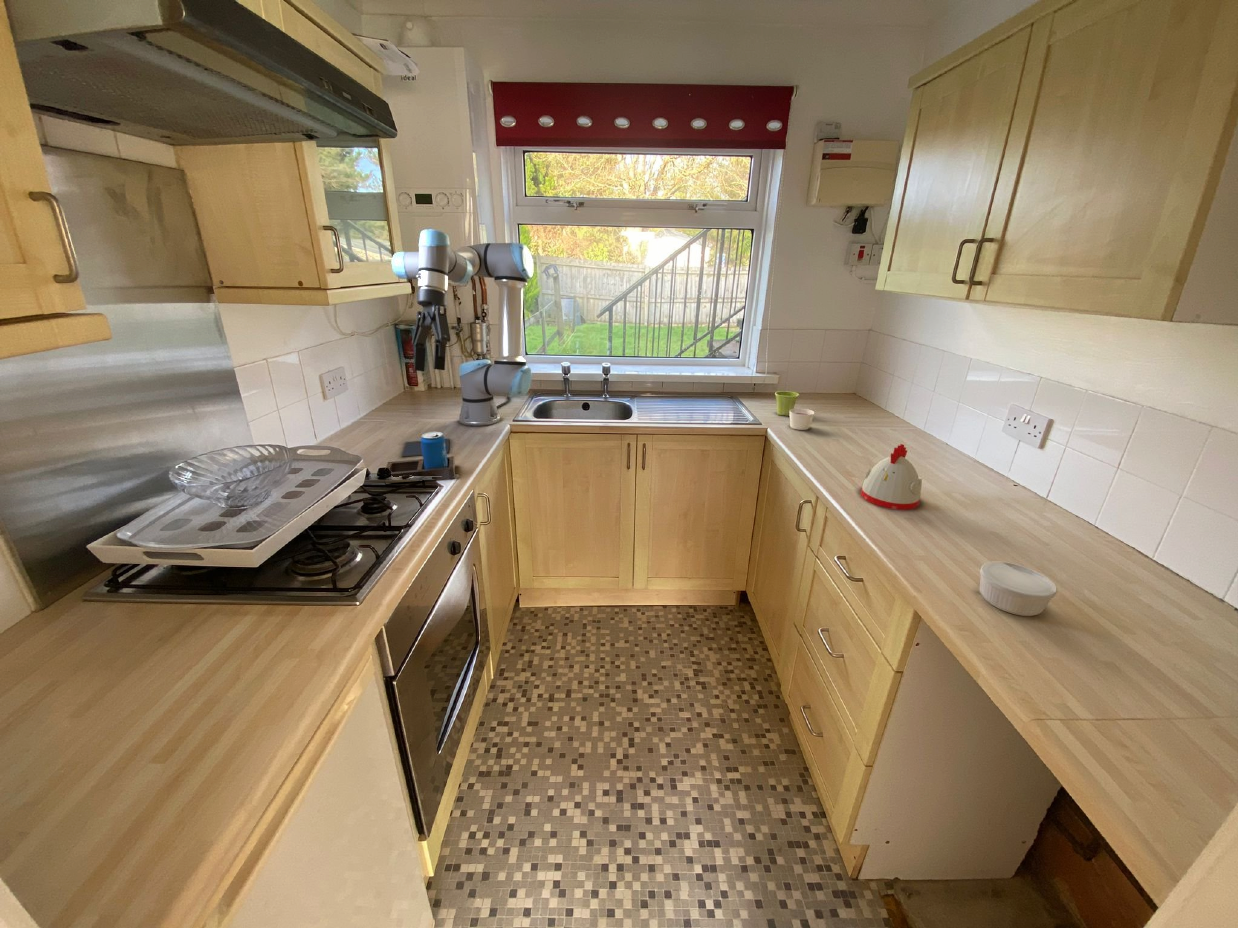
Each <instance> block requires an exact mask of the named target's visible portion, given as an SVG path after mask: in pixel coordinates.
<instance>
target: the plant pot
mask: <svg viewBox="0 0 1238 928" xmlns="http://www.w3.org/2000/svg"><path fill="white" fill-rule="evenodd" d="M774 395H775V399H776V414H777V415H779V416H786V417H788V416H789V417H790V415H789V410H790V409H794V408H795V407H796V406H795V405H796V403H797V399H798V397H799V396H800V394H799V393H798V392H795V391H787V390H781V391H776V392H775V393H774Z"/></svg>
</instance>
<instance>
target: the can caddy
mask: <svg viewBox="0 0 1238 928" xmlns="http://www.w3.org/2000/svg"><path fill="white" fill-rule="evenodd" d="M447 461H448V467H445V468H434V469H425V468H424V461H423V458H420V459H408V460H397V461H388V462H387V463H386V466H385V469H386V468H389V470H391V471H392V472H391V474H392V476H393V477H399V476H403V475H412V476H442V477H432V479H436V480H435V481H443V480H453V479H455V478H456V477H455V476H456V475H455V474H456V463H455V456H447Z"/></svg>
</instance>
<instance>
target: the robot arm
mask: <svg viewBox="0 0 1238 928" xmlns="http://www.w3.org/2000/svg"><path fill="white" fill-rule="evenodd" d="M418 242H419V243H418V251H397V252H395V253H394V254H393V255H392V258H391V269H392V272H393V273H394V275H395V276H396V277H397V278H399V279H400V280H401V279H402V280H408V281H410V280H417V288H418V290H417V291H416V303H417V304H418V305H419V306H421V307H422V311H420V310H417V312H416V321H415V325H414V329H413V335H412V337H411V338H412V339H411V346H413V347H414V355H413V356H414V357H413V359H414V360H413V371H416V372H425V367H426V349H427V346H426V343H427V339H428V336H429V335H430V331H432V333H433V335H434V341H433V343H434V351H433V370H437V371H445V370H446V353H447V345H448V343H451V334H450V329H449V328H450V327H449V322H448V317H447V302H448V301H447V300H448V299H447V297H448V295H447V292H448V285H449V284H448V282H449V281H451V282H453V283H454V284H459V285H463V284H466V283H468V282H469V281H470V280H471V278H472V277H481V278H490V279H491V278H492V279H493V280H494V281H493V282H494V284H495V285H496V286H497V287H498V329H497V331H498V337H497V338H498V340H497V341H498V347H497V348H498V349H497V351H498V353H497V356H496V357H495V358H494V359H493V364H492V361H491V360H490V359H487V358H485V359H476V360H471V361H466V362H463V363H461V364H460V365H459V369H458V370H459V374H458V377H459V383H460V393H461V399H462V401H461V403H462V404H461V409H460V411H459V417H458V418H459V423H460V424H461V425H464V426H468V427H482V426H484V427H485V426H490V425H494V424H496V423H498V422H500V421H501V415H500V412H499V408H501V407H503V406H505V405H507V404H509V403H510V401H511V398H523V397H525V396H526V395H527V394H528V392H529V390H530V389H531V385H532V379H533V372H532V369H531V368H530V367H529V366H528V365H527V360H526V359H525V358H524V357H523V319H524V318H523V316H524V314H523V311H524V309H523V308H524V306H523V305H524V289H525V288H526V287H527V286H528V280H530V279H531V278H532V277H533V276H534V275H533V274H534V271H535V270H534V267H535V266H534V260H533V256H532V254H531V251H530V249H529V248H528V246H527V245H526V244H523V243H519V242H518V243H517V242H494V243H493V242H484V243H483V242H482V243H478V244H472V245H467V246H460V247H458V248H457V249H452V248H451V247H450V244H451V243H450V237H449V235H448V234H447V233H445V232H444V231H441V230H438V229H431V228H429V229H427V228H426V229H423V230H421V232H420V234H419V241H418ZM495 397H506V398H507V400H505V401H504V402H502V403H500V404H498V405H496V403H495V399H494V398H495Z"/></svg>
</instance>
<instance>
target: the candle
mask: <svg viewBox="0 0 1238 928" xmlns="http://www.w3.org/2000/svg"><path fill="white" fill-rule="evenodd" d="M814 415H815V411H813V410H811V409H808V408H802V407H801V408H799V407H797V408H795V407H794V409H790V410H789V426H790V428H791V429H794V430H798V431H806V430H809V429H810V427H811V425H812V421H813V419H814Z"/></svg>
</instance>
